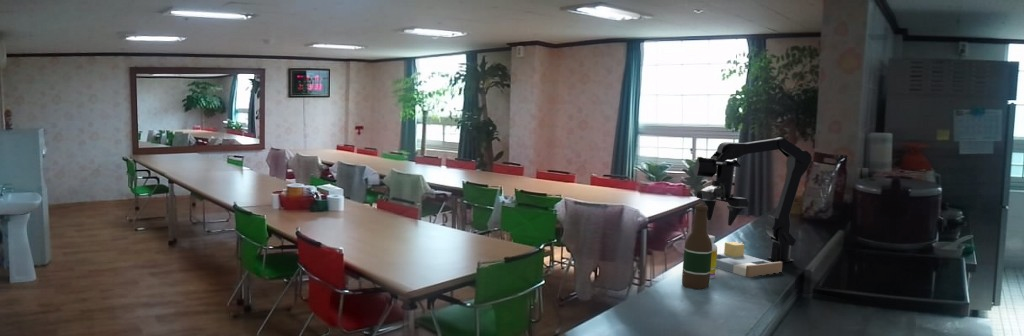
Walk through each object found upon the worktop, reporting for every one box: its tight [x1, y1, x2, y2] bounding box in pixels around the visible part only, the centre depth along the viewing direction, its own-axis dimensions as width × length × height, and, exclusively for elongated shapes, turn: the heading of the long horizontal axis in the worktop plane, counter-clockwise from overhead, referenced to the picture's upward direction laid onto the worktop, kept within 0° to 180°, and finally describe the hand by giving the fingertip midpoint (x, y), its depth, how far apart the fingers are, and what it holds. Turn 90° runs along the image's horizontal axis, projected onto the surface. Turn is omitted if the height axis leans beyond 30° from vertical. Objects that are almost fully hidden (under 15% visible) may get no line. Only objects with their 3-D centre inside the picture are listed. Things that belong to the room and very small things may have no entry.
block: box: [723, 241, 745, 257], centre depth 226 cm, size 4×4×4 cm
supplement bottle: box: [708, 234, 718, 280], centre depth 205 cm, size 7×7×13 cm
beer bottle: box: [681, 204, 712, 290], centre depth 192 cm, size 8×8×24 cm
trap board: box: [716, 252, 784, 278], centre depth 219 cm, size 16×19×4 cm
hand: (719, 222), depth 231 cm, fingers open, 9 cm apart
